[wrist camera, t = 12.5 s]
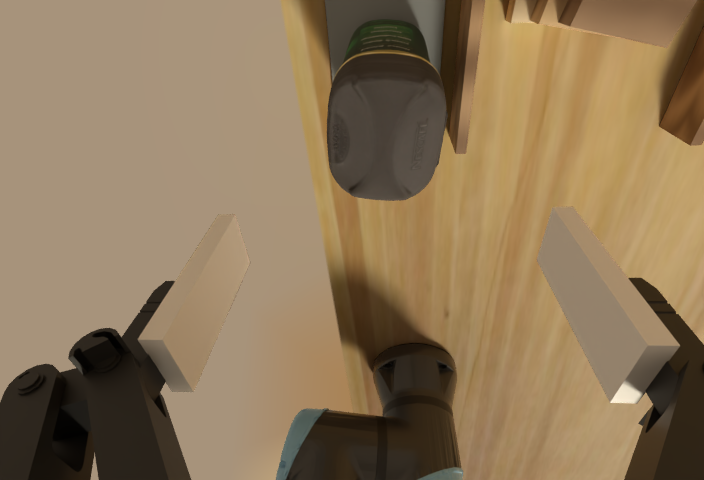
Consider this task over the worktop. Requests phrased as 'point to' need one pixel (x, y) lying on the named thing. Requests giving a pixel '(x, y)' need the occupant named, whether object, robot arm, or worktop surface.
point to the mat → (383, 3)
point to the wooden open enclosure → (680, 117)
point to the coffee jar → (385, 113)
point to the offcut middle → (553, 14)
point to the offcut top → (629, 18)
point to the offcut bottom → (520, 11)
